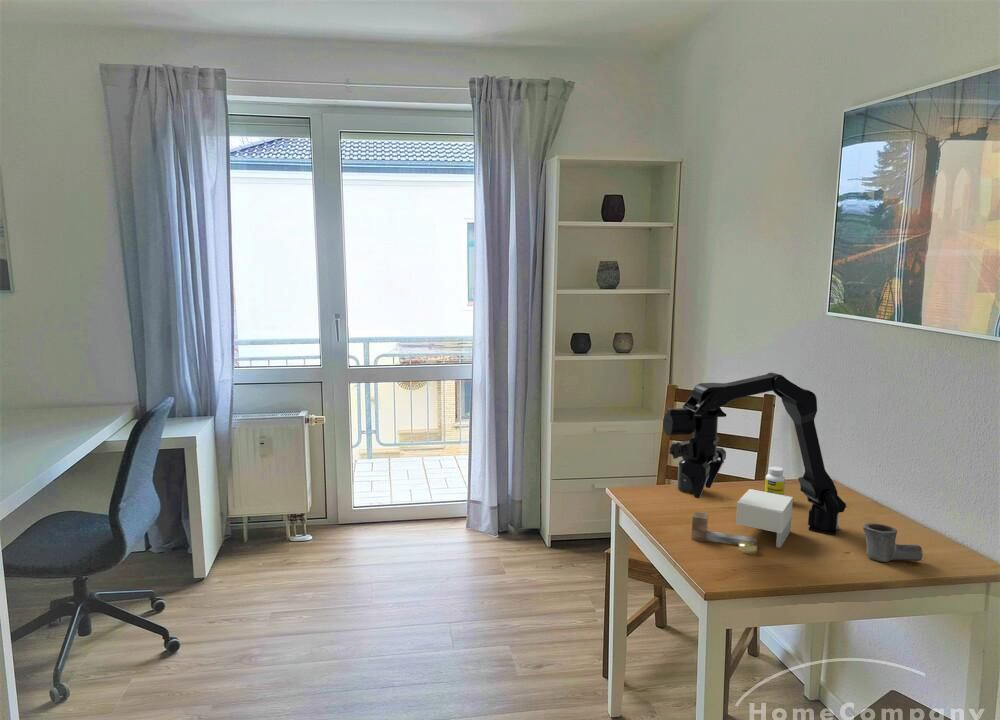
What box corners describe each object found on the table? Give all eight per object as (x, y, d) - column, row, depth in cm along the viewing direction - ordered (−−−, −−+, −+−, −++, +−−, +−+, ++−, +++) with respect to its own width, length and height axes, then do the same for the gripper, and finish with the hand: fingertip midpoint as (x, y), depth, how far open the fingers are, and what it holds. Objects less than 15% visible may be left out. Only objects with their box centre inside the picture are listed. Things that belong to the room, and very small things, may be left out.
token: (757, 549, 164) (757, 542, 164) (756, 556, 160) (757, 549, 160) (738, 546, 166) (739, 539, 165) (737, 553, 161) (737, 546, 161)
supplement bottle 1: (672, 489, 207) (674, 452, 206) (686, 484, 211) (688, 448, 210) (691, 495, 202) (692, 457, 200) (704, 490, 206) (706, 453, 204)
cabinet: (790, 531, 174) (792, 497, 173) (779, 548, 164) (782, 511, 163) (747, 522, 180) (749, 488, 179) (734, 537, 170) (736, 502, 169)
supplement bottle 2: (764, 501, 197) (766, 469, 195) (764, 495, 202) (766, 464, 200) (783, 504, 195) (786, 472, 193) (783, 498, 200) (785, 466, 198)
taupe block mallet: (756, 542, 167) (757, 520, 166) (756, 549, 163) (757, 526, 163) (692, 533, 173) (693, 511, 172) (691, 539, 169) (692, 517, 168)
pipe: (924, 568, 154) (927, 535, 153) (864, 562, 156) (867, 530, 155) (913, 556, 160) (916, 525, 159) (856, 552, 162) (859, 521, 161)
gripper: (686, 422, 179) (683, 477, 182) (661, 437, 164) (659, 497, 166) (727, 427, 173) (725, 484, 175) (706, 443, 158) (703, 506, 160)
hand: (702, 492), depth 169 cm, fingers open, 9 cm apart
